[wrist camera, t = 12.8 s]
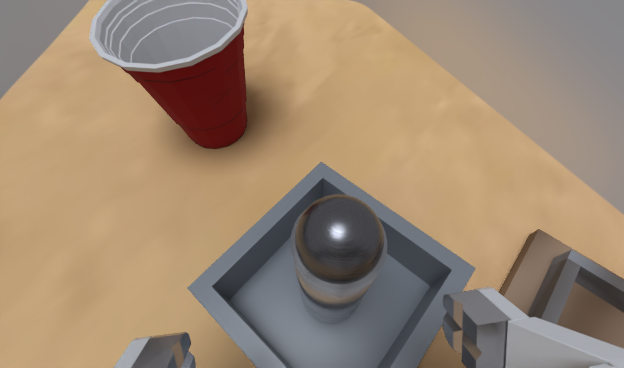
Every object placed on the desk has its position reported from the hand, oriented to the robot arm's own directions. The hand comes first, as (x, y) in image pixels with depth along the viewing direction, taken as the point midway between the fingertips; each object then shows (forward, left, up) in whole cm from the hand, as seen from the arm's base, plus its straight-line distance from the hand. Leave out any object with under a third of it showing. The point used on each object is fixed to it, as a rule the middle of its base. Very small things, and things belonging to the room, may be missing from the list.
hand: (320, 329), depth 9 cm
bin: (+2, -3, -12) cm, 13 cm away
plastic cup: (+21, -8, -12) cm, 25 cm away
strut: (+2, -3, -11) cm, 12 cm away
